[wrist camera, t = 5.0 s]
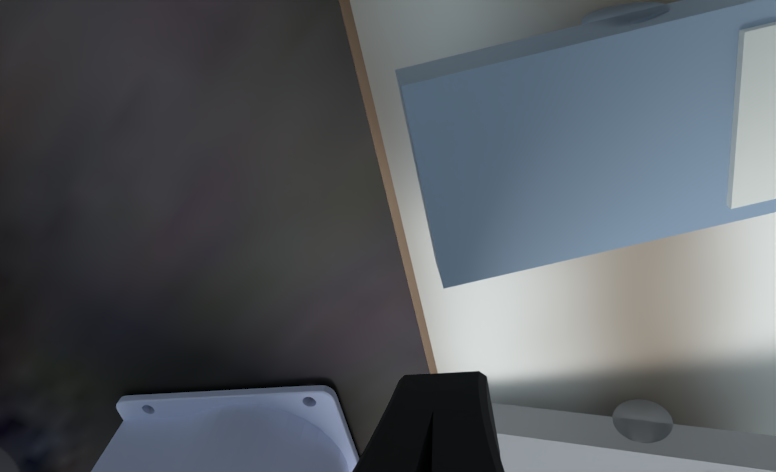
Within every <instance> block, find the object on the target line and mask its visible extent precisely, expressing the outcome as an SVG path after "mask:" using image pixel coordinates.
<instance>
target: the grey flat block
mask: <svg viewBox="0 0 776 472" xmlns="http://www.w3.org/2000/svg"><path fill="white" fill-rule="evenodd" d="M492 409H493V415H494V420H495V426H496V432H497V438H498V443H499V449H500V458H501V462H502V465H503V468H504V471H505V472H776V436H772V435H763V434H755V433H746V432H737V431H729V430H720V429H712V428H703V427H695V426H686V425H677V424H673V421H672V418H671V415H670V414H669V412H668V411H667V410H666V409H665V408H663V407H662V406H661V405H659V404H657V403H655V402H652V401H649V400H643V399H634V400H629V401H626V402H623V403H621V404H620V405H619V406H618V407H617V408H616V409H615V410H614V412H613V416H612V417H609V416H600V415H592V414H583V413H575V412H566V411H558V410H549V409H540V408H532V407H523V406H515V405H506V404H498V403H492Z"/></svg>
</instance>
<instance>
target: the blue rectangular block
mask: <svg viewBox="0 0 776 472" xmlns="http://www.w3.org/2000/svg"><path fill="white" fill-rule="evenodd" d="M395 72H396V77H397V82H398V87H399V91H400V96H401V101H402V105H403V110H404V115H405V120H406V124H407V129H408V134H409V138H410V143H411V148H412V152H413V157H414V162H415V167H416V171H417V176H418V181H419V185H420V190H421V195H422V200H423V204H424V209H425V214H426V218H427V223H428V228H429V233H430V237H431V242H432V247H433V251H434V256H435V261H436V264H437V268H438V271H439V275H440V278H441V281H442V285H443V288H449V287H453V286H457V285H462V284H466V283H470V282H475V281H479V280H483V279H488V278H492V277H496V276H501V275H505V274H509V273H514V272H518V271H523V270H527V269H531V268H536V267H540V266H544V265H549V264H553V263H557V262H562V261H566V260H570V259H575V258H579V257H583V256H588V255H592V254H596V253H601V252H605V251H609V250H614V249H618V248H622V247H627V246H631V245H635V244H640V243H644V242H648V241H653V240H657V239H661V238H666V237H670V236H674V235H679V234H683V233H688V232H692V231H696V230H701V229H705V228H709V227H714V226H718V225H722V224H727V223H731V222H735V221H740V220H744V219H748V218H753V217H757V216H761V215H766V214H770V213H774V212H776V0H681V1H677V2H673V3H668V4H663V3H656V2H638V3H628V4H621V5H615V6H611V7H607V8H603V9H599V10H597V11H594V12H591V13H589V14H587V15H586V16H584V17H583V18H582V25H578V26H574V27H570V28H565V29H561V30H557V31H553V32H549V33H545V34H541V35H537V36H532V37H528V38H524V39H520V40H516V41H512V42H508V43H504V44H499V45H495V46H491V47H487V48H483V49H479V50H475V51H471V52H466V53H462V54H458V55H454V56H450V57H446V58H442V59H438V60H433V61H429V62H425V63H421V64H417V65H413V66H409V67H405V68H400V69H396V70H395Z"/></svg>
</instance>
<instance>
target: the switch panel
mask: <svg viewBox="0 0 776 472" xmlns="http://www.w3.org/2000/svg"><path fill="white" fill-rule="evenodd" d="M677 1H681V0H339V4H340V8H341V12H342V16H343V20H344V24H345V28H346V32H347V36H348V40H349V44H350V49H351V53H352V57H353V61H354V65H355V69H356V73H357V77H358V81H359V85H360V89H361V93H362V97H363V102H364V106H365V110H366V114H367V118H368V122H369V126H370V130H371V134H372V138H373V142H374V146H375V151H376V155H377V159H378V163H379V167H380V171H381V175H382V179H383V183H384V187H385V191H386V195H387V199H388V204H389V208H390V212H391V216H392V220H393V224H394V228H395V232H396V236H397V240H398V244H399V248H400V252H401V257H402V261H403V265H404V269H405V273H406V277H407V281H408V285H409V289H410V293H411V297H412V301H413V306H414V310H415V314H416V318H417V322H418V326H419V330H420V334H421V338H422V342H423V346H424V350H425V354H426V359H427V363H428V367H429V371H430V374H435V373H453V372H472V371H480V372H481V373H483V374H484V375H486V376H487V380H488V386H489V392H490V398H491V403H498V404H506V405H515V406H523V407H532V408H540V409H549V410H558V411H566V412H575V413H583V414H592V415H600V416H609V417H612V416H613V412H614V410H615V409H616V408H617V407H618V406H619V405H620V404H621V403H623V402H626V401H629V400H634V399H643V400H649V401H652V402H655V403H657V404H659V405H661V406H662V407H663V408H665V409H666V410H667V411H668V412H669V414H670V415H671V418H672V421H673V424H677V425H686V426H695V427H703V428H712V429H720V430H729V431H737V432H746V433H755V434H763V435H772V436H776V212H774V213H770V214H766V215H761V216H757V217H753V218H748V219H744V220H740V221H735V222H731V223H727V224H722V225H718V226H714V227H709V228H705V229H701V230H696V231H692V232H688V233H683V234H679V235H674V236H670V237H666V238H661V239H657V240H653V241H648V242H644V243H640V244H635V245H631V246H627V247H622V248H618V249H614V250H609V251H605V252H601V253H596V254H592V255H588V256H583V257H579V258H575V259H570V260H566V261H562V262H557V263H553V264H549V265H544V266H540V267H536V268H531V269H527V270H523V271H518V272H514V273H509V274H505V275H501V276H496V277H492V278H488V279H483V280H479V281H475V282H470V283H466V284H462V285H457V286H453V287H449V288H443V285H442V281H441V278H440V275H439V271H438V268H437V264H436V261H435V256H434V251H433V247H432V242H431V237H430V233H429V228H428V223H427V218H426V214H425V209H424V204H423V200H422V195H421V190H420V185H419V181H418V176H417V171H416V167H415V162H414V157H413V152H412V148H411V143H410V138H409V134H408V129H407V124H406V120H405V115H404V110H403V105H402V101H401V96H400V91H399V87H398V82H397V77H396V72H395V70H396V69H400V68H405V67H409V66H413V65H417V64H421V63H425V62H429V61H433V60H438V59H442V58H446V57H450V56H454V55H458V54H462V53H466V52H471V51H475V50H479V49H483V48H487V47H491V46H495V45H499V44H504V43H508V42H512V41H516V40H520V39H524V38H528V37H532V36H537V35H541V34H545V33H549V32H553V31H557V30H561V29H565V28H570V27H574V26H578V25H582V18H583V17H584V16H586V15H587V14H589V13H591V12H594V11H597V10H599V9H603V8H607V7H611V6H615V5H621V4H628V3H638V2H656V3H663V4H668V3H673V2H677Z"/></svg>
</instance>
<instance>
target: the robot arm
mask: <svg viewBox="0 0 776 472" xmlns="http://www.w3.org/2000/svg"><path fill="white" fill-rule="evenodd" d="M308 397H311V398H313V399H310V398H308ZM116 408H117V411H118V412H119V414H120V416H121V417H122V419H123V420H124V421H123V422H122V424H121V425H120V427H119V428H118V430H117V431H116V433H115V435H114V436H113V438H112V439H111V441H110V442H109V444H108V446H107V447H106V449H105V450H104V452H103V453H102V455H101V457H100V458H99V460H98V461H97V463H96V464H95V466H94V468H93V469H92V471H91V472H505V471H504V468H503V465H502V462H501V458H500V449H499V443H498V438H497V432H496V426H495V420H494V415H493V409H492V403H491V398H490V392H489V386H488V380H487V376H486V375H484V374H483V373H481V372H480V371H472V372H453V373H435V374H417V375H404V376H403V377H402V378H401V379H400V380H399V382H398V384H397V387H396V389H395V391H394V393H393V395H392V397H391V399H390V402H389V404H388V406H387V408H386V410H385V412H384V414H383V416H382V418H381V420H380V422H379V424H378V426H377V428H376V429H375V431H374V433H373V435H372V437H371V439H370V441H369V443H368V445H367V446H366V448H365V450H364V452H363V454H362V455H361V457H360V459H359V456H358V454H357V451H356V448H355V445H354V443H353V440H352V437H351V434H350V431H349V429H348V426H347V423H346V420H345V417H344V415H343V412H342V409H341V406H340V403H339V401H338V398H337V395H336V393H335V391H334V390H333V389H331V388H330V387H328V386H325V385H313V386H294V387H276V388H257V389H239V390H220V391H201V392H183V393H164V394H146V395H127V396H122V397H121V398H120V400H119V401H118V403H117V404H116Z"/></svg>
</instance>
